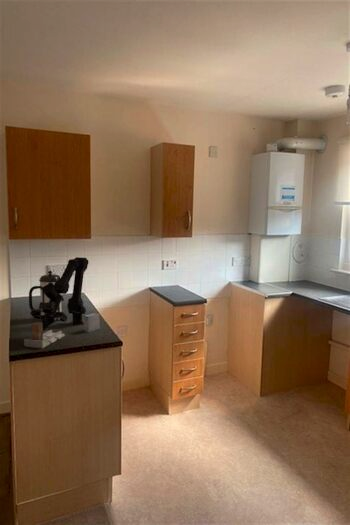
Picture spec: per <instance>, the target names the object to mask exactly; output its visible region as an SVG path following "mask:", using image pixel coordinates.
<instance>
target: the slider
mask: <svg viewBox="0 0 350 525" xmlns="http://www.w3.org/2000/svg"><path fill="white" fill-rule="evenodd" d="M43 333H44V331H43V326H42V322H40V321H39V322H38V321H34V322H33V323H31V340H40V341H42V340H43Z"/></svg>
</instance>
